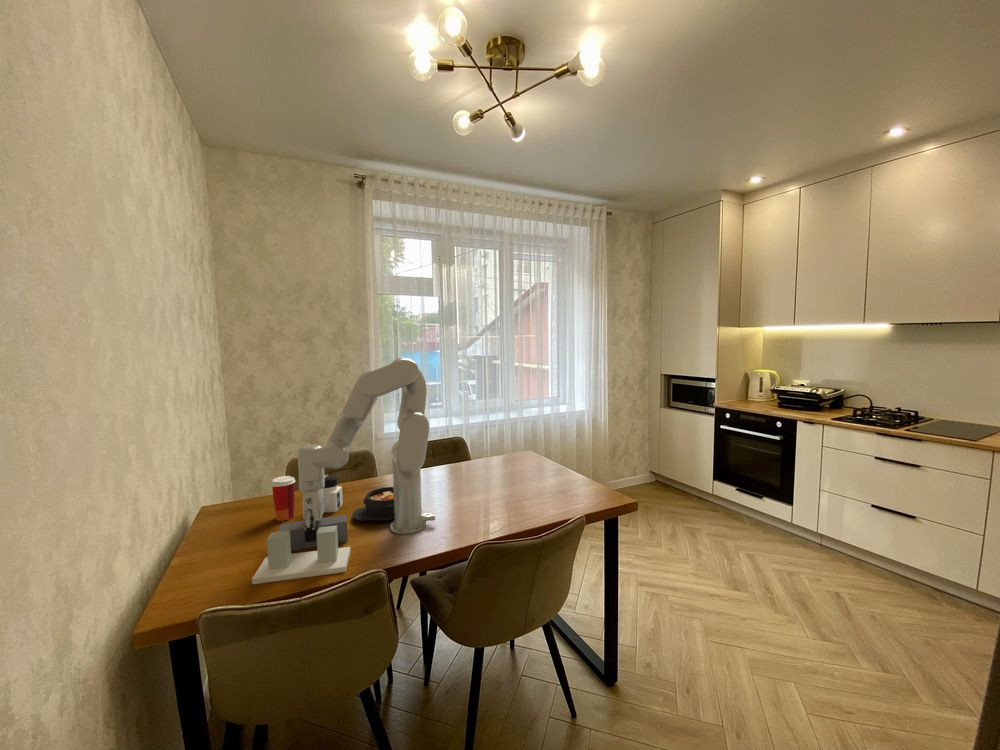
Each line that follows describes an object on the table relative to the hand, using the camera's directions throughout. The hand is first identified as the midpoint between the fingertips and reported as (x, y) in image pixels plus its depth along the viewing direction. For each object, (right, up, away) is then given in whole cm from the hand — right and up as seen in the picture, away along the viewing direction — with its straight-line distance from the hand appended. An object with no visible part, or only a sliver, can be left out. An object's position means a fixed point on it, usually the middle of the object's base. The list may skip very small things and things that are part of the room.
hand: (313, 534), depth 135 cm
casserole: (+18, -1, +22) cm, 28 cm away
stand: (+4, -4, -14) cm, 15 cm away
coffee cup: (-20, -2, +20) cm, 28 cm away
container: (-7, -1, +28) cm, 29 cm away
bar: (0, -3, 0) cm, 3 cm away
